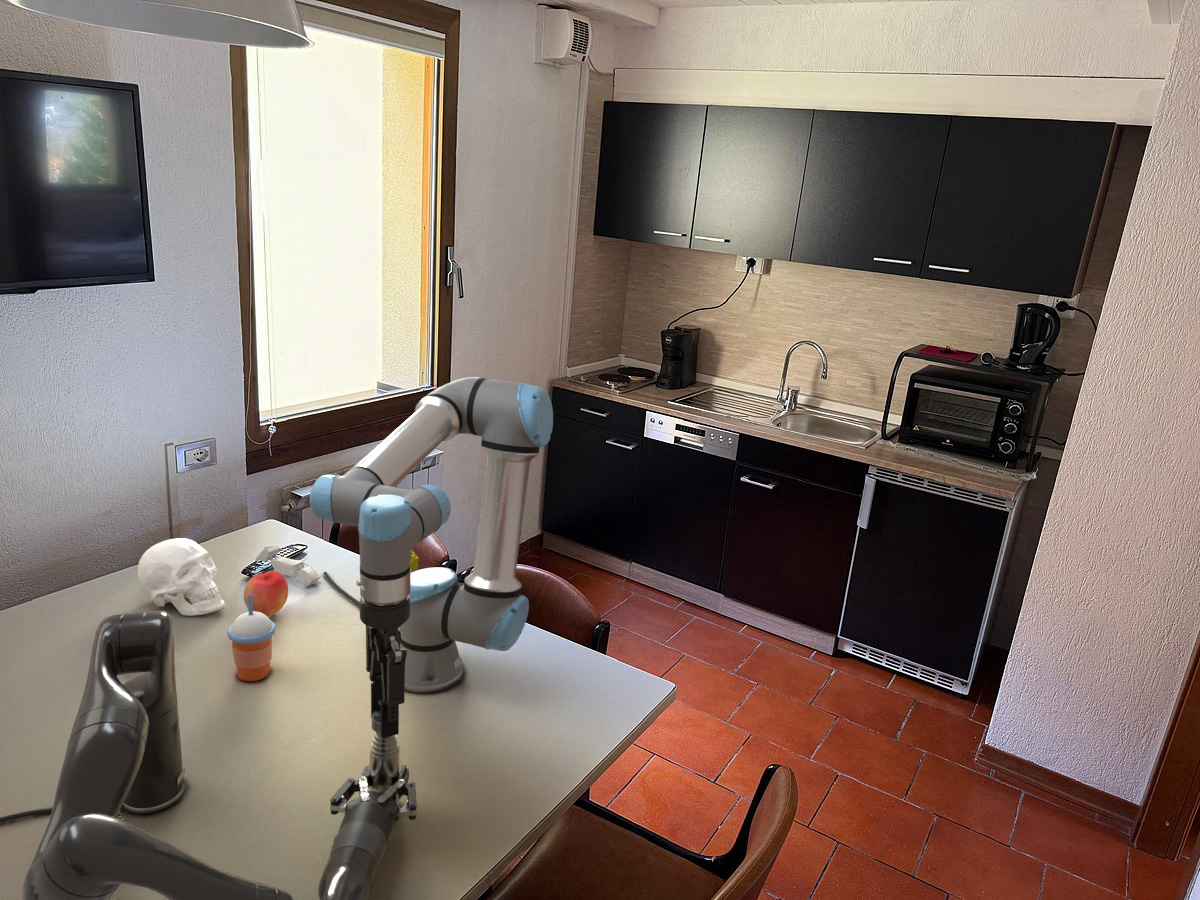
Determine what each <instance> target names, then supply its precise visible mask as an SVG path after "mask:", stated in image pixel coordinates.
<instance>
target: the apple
mask: <svg viewBox="0 0 1200 900" xmlns="http://www.w3.org/2000/svg"><path fill="white" fill-rule="evenodd" d="M249 594H252V598H253V611H255V612H260V613H263V614H265V615H266V616H267V617H268V618H269V617H273V616H275V615H276V614H278V613H279V612H280V611H281V610H282V609H283V607H284V606H285V605H286V603H287V600H288V597H289V584H288V581H287V579H286V577H285V575H282V574H281V573H278V572H275V571H268V570H267V571H266V572H264V573H259V574H255V575H254V576H253V577H251V578H250V579H249V580H248V582H247V583H246V585H245V587H244V590H243V601H244V604H245V607H247V608H248V595H249Z"/></svg>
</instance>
